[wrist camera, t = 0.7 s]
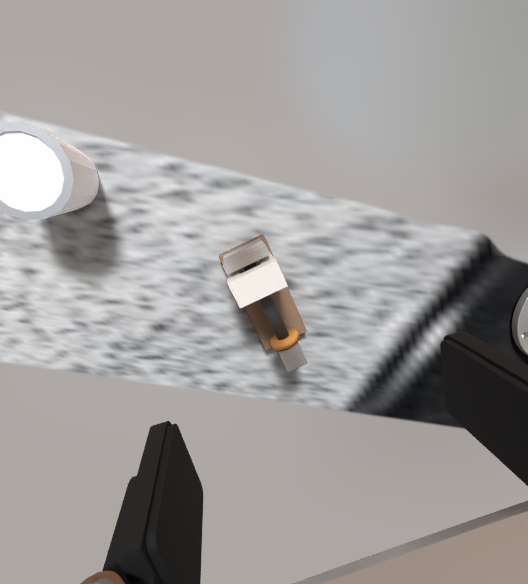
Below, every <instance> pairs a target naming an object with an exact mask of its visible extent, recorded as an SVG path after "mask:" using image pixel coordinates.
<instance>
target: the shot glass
mask: <svg viewBox="0 0 528 584" xmlns="http://www.w3.org/2000/svg"><path fill="white" fill-rule="evenodd" d="M98 188H99V177H98V172H97V170H96V168H95V166H94V165H93V163H92V161H91V160H90V159H89V158H88V157H87V156H86V155H84V154H83V153H82V152H81V151H79V150H78V149H76V148H74V147H72V146H71V145H69V144H67V143H65V142H64V141H62V140H60V139H58V138H56V137H55V136H53V135H51V134H49V133H48V132H46V131H44V130H42V129H40V128H37V127H35V126H32V125H29V124H26V123H23V122H1V123H0V209H1V210H2V211H3V212H5V213H6V214H8V215H11V216H14V217H18V218H21V219H24V220H36V219H46V218H50V217H53V216H57V215H60V214H63V213H67V212H70V211H73V210H77V209H80V208H82V207H84V206H86V205H88V204H90V203H91V202H92V201H93V199H94V198H95V197H96V195H97V193H98Z"/></svg>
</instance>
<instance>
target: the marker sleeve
mask: <svg viewBox="0 0 528 584" xmlns="http://www.w3.org/2000/svg"><path fill="white" fill-rule="evenodd" d="M269 253H270V252H269ZM256 264H257V266H256V267H254V268H252V269H250V270H248V271H244V269H243V268H241V269H239V270H236V271H234V272H232V273H230V274H228V275H227V284H228V286H229V288H230V290H231V292H232V294H233V296H234V298H235V299H236V301H237V303H238V305H239V307H240V308H242V307H244V306H247V305H249V304H251V303H253V302H255V301H257V300H259V299H262V298H264V297H266V296H268V295H270V294H272V293H274V292H276V291H279V290H281V289H283V288H285V287H287V286H288V285H287V283H286V281H285V279H284V277H283V274H282V272H281V270H280V268H279V265H278V263H277V261H276V259H275V258H274V257H273V256H272V255H271V253H270V255H268V256H266V257H264V258H262V259H260V260H258V261H256Z"/></svg>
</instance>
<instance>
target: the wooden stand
mask: <svg viewBox="0 0 528 584" xmlns="http://www.w3.org/2000/svg"><path fill="white" fill-rule="evenodd" d="M269 252H270V253H271V255H272V256H273V254H272V252H271V250H270V248H269V245H268V243H267V241H266V239H265V237H264V235H263V234H262V235H260V236H258V237H256V238H254V239H252V240H250V241H248V242H246V243H243V244H241V245H239V246H237V247H235V248H233V249H231V250H229V251H226V252H224V253H222V254H220V255H219V258H220V260H221V262H222V264H223V268H224V270H225V272H226V274H227V275H228V274H230V273H232V272H234V271H236V270H239V269H241V268H243V269H244V271H248V270H250V269H252V268H254V267H256V266H257V264H256V261H258V260H260V259H262V258H264V257H266V256H268V255H270V253H269ZM244 308H245V310H246V312H247V314H248V316H249V318H250V320H251V322H252V324H253V326H254V328H255V330H256V332H257V334H258V335H259V337H260V339H261V341H262V343H263V345H264V347H265V349H266V350H268V349H270V348H273V349H274V350H276V351H278V352H279V355H280V357H281V359H282V361H283V363H284V365H285V367H286V369H287V371H288V372H290V371H292V370H294V369H296V368H299V367H301V366H303V365H305V364H307V361H306V359H305V356H304V354H303V352H302V350H301V348H300V346H299V344H298V342H297V341H298V340H299V335H300V334H302V333H304V332H306V331H307V330H306V328H305V326H304V323H303V321H302V319H301V317H300V314H299V312H298V310H297V308H296V306H295V303H294V301H293V299H292V297H291V294H290V292H289V290H288V288H287V287H285V288H283V289H281V290H279V291H276V292H274V293H272V294H270V295H268V296H266V297H264V298H262V299H259V300H257V301H255V302H253V303H251V304H249V305H247V306H244Z"/></svg>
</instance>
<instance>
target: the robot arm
mask: <svg viewBox="0 0 528 584" xmlns="http://www.w3.org/2000/svg"><path fill="white" fill-rule="evenodd" d="M512 333H513V338H514V340H515V343H516V345H517V346H518V347H519V349H520V350H521V351H522V352H523V353H525V354H526V355H528V288H527V289H526V290H525V291H524V293H523V294H522V296H521V297H520V299H519V301H518V303H517V305H516V308H515V310H514V314H513V319H512ZM441 358H442V371H443V383H444V395H445V405H446V408H447V410H448V412H449V414H450V415H451V416H452V417H453V418H454V419H455V420H457V421H458V422H459V423H460V424H461V425H462V426H463V427H464V428H465V429H466V430H467V431H469V432H470V433H471V434H472V435H473V436H474V437H475V438H476V439H477V440H478V441H479V442H480V443H482V444H483V445H484V446H485V447H486V448H487V449H488V450H489V451H490V452H491V453H493V454H494V455H495V456H496V457H497V458H498V459H499V460H500V461H501V462H503V464H504V465H506V466H507V467H508V468H509V469H510V470H511V471H512V472H513V473H514V474H515V475H516V476H517V477H519V478H520V479H521V480H522V481H523V482H524V483H525V484H526V485H527V486H528V365H526V364H524V363H522V362H520V361H518V360H516V359H515V358H513V357H511V356H509V355H507V354H505V353H503V352H502V351H500V350H498V349H496V348H494V347H492V346H490V345H488V344H487V343H485V342H483V341H481V340H479V339H477V338H475V337H474V336H472V335H470V334H468V333H466V332H464V331H460V332H456V333H453V334H450V335H447V336H445V337H444V341H442V342H441ZM202 517H203V489H202V485H201V482H200V480H199V477H198V475H197V473H196V470H195V467H194V465H193V463H192V460H191V457H190V455H189V453H188V450H187V448H186V445H185V443H184V440H183V438H182V435H181V433H180V430H179V428H178V426H177V424H173V425H172V424H171V423H170V422H169V421H166V422H163V423H160V424H157V425H153V426H151V428H150V431H149V434H148V438H147V441H146V445H145V449H144V452H143V456H142V459H141V463H140V467H139V471H138V474H137V476H135V477H132V478H131V479H130V481H129V484H128V487H127V490H126V493H125V497H124V500H123V504H122V507H121V510H120V514H119V517H118V520H117V524H116V527H115V530H114V534H113V537H112V541H111V544H110V547H109V551H108V554H107V557H106V561H105V564H104V568H103V571H102V572H98V573H96V574H94V575H92V576H90V577H88V578H87V579H86V580H84V581H83V582H82V583H81V584H200V575H201V545H202ZM293 584H528V501H526V502H523V503H520V504H517V505H514V506H511V507H508V508H506V509H503V510H500V511H497V512H494V513H491V514H488V515H485V516H482V517H479V518H476V519H474V520H471V521H468V522H465V523H462V524H460V525H456V526H454V527H451V528H448V529H446V530H443V531H439V532H437V533H434V534H431V535H428V536H425V537H422V538H420V539H417V540H414V541H411V542H408V543H405V544H403V545H400V546H397V547H394V548H392V549H389V550H386V551H383V552H380V553H377V554H374V555H372V556H369V557H366V558H363V559H360V560H357V561H355V562H352V563H349V564H346V565H343V566H341V567H338V568H335V569H333V570H330V571H327V572H324V573H321V574H319V575H316V576H313V577H310V578H307V579H305V580H302V581H299V582H296V583H293Z"/></svg>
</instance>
